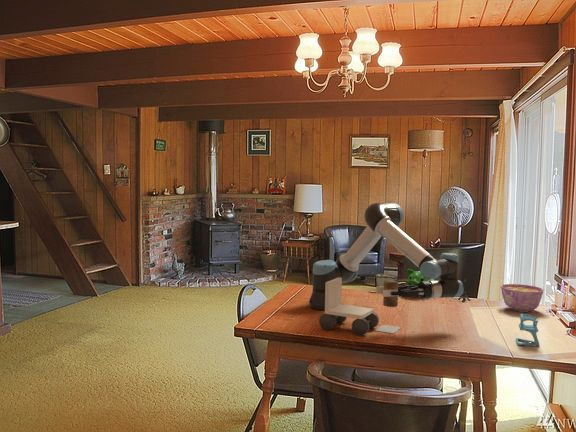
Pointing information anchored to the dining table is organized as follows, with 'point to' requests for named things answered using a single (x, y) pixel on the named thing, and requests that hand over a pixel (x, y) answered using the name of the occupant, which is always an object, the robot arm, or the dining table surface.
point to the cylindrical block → (391, 300)
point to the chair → (528, 329)
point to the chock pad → (388, 329)
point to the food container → (384, 279)
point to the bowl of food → (521, 296)
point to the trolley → (345, 311)
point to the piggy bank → (415, 277)
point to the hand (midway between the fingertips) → (379, 291)
